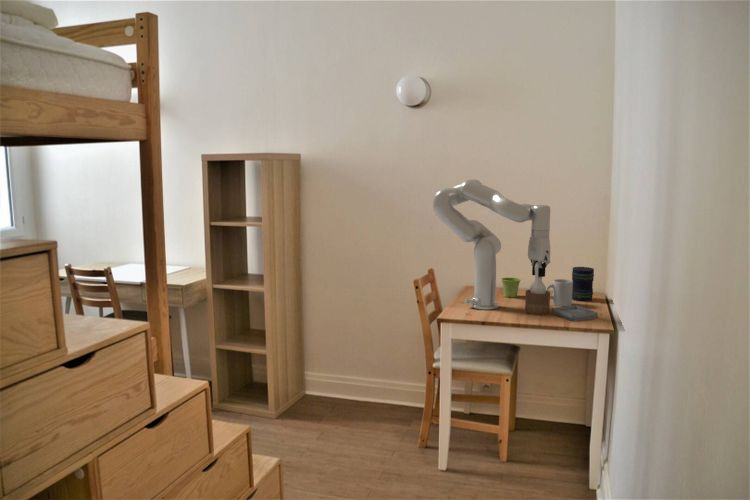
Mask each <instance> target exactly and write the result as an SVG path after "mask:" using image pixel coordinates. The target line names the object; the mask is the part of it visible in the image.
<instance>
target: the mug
mask: <svg viewBox="0 0 750 500" xmlns="http://www.w3.org/2000/svg"><path fill="white" fill-rule="evenodd" d="M550 288H552V295H550V300H552V305H553V306H556V307H567V306H573V305H572V304H573V300H572V288H573V281H572V279H571V280H570V279H562V278H561V279H560V278H559V279H554V280H553V283H550V284H548V285H547V286H546V291H549V289H550Z"/></svg>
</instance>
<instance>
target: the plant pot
mask: <svg viewBox="0 0 750 500" xmlns="http://www.w3.org/2000/svg"><path fill="white" fill-rule="evenodd" d="M500 280H501V284H502V289H503V296H504V297H505V298H510V299H511V298H517V297H518V291H519V286H520V283H521V280H522V279H521V278H518V277H502V278H500Z"/></svg>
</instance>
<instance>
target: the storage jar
mask: <svg viewBox="0 0 750 500" xmlns="http://www.w3.org/2000/svg"><path fill="white" fill-rule="evenodd" d="M571 270H572V273H571V281H573V288H572V301H574V302H575V301H576V302H585V303H586V302H592V301H593V295H594V288H593V287H594V286H593V283H594V277H595V273H594V271H595V268H593V267H587V266H575V267H574V266H573V267H572V269H571Z"/></svg>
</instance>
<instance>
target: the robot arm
mask: <svg viewBox="0 0 750 500" xmlns="http://www.w3.org/2000/svg"><path fill="white" fill-rule="evenodd" d="M468 201H471V202H474V203H476V204H478V205H480V206H483V207H485V208H487V209H490V210H491V211H492V212H495V213H496V214H498V215H499V216H502V217H504V218H506V219H509V220H511V221H513V222H516V223H524V222H528V221H531V231H530V232H531V233H530V236H529V241H528V246H527V258H528V259H529V261H530V263H531V267H532V268H531V269H532V270H531V275H532V276H535V264H536V262H539V265H540V268H539V269H538V277H542V278H545V277H546V268H547V266H548V265H549V264H551V241H550V227H551V226H550V225H551V207H550V205H547V204H529V203H522V204H519V203H517V202H515V201H513V200H511V199H508V198H507V197H505V196H504V195H502V193H501V192H500V191H498V190H496V189H494V188H491V187H489V186H487V185H485V184H483V183H482V182H481V181H480V180H477V179H474V178H473V179H466V180H464V181H462V183H461V184H457V185H455V186H451V187H447V188H442V189H439V190H438V191H436V193H435V195H434V197H433V201H432V205H433V206H432V208H433V211H434V213H435V215H436V216H437V218H438V219H439V220H440V221H441V222H442V223H443V224H445V226H446V227H447V228H449V230H450V231H452V232H453V233H454V234H455V235H456V236H458V238H459V239H460V240H462V241H463V242H465V243H472V244H474V247H473V257H474V259H473V260H474V289H473V290H474V291H473V295H472V297H471V298H468V299H467V298H466V299H464V304H467V305H468V304H470V307H471V308H474V309H477V310H487V311H488V310H497V309H498V308H499V306H500V305H499V303H498V302H496V290H497V289H496V288H497V254H499V253H500V252H501V249H502V243H501V239H500V238H498V237H497V236H496V234H494V233H493V232H492V231H491V230H490V229H489V228H487V227H486V226H485V225H484V224H482V223H481V222H480V221H478V220H475V219H471V220H470V219H468V218H467V217H466V216H464V214H462V213H461V212H460V211H459V210H457V209H456V208H455V207H454V206H457V205H460V204H463V203H465V202H468Z"/></svg>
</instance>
